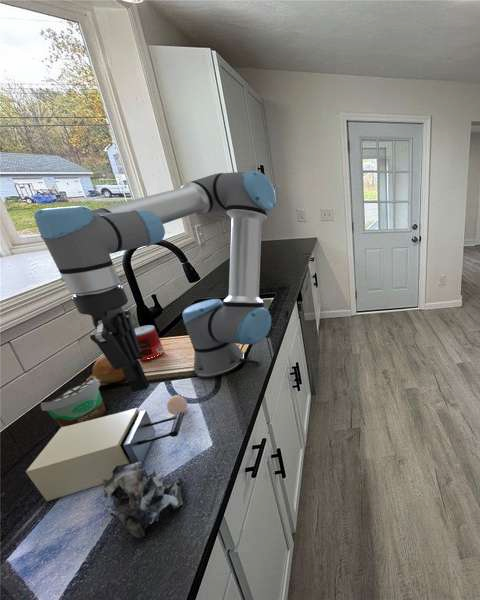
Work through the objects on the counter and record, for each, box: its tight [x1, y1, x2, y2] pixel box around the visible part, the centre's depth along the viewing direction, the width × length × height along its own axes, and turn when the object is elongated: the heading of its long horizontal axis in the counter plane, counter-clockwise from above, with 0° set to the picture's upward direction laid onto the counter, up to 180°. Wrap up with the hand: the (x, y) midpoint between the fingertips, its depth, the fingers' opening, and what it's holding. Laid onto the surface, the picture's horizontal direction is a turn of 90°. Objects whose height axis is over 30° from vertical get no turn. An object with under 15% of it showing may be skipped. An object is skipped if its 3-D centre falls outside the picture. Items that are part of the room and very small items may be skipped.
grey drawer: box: [120, 410, 185, 467], centre depth 73 cm, size 21×11×7 cm, turn 113°
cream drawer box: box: [25, 407, 140, 502], centre depth 70 cm, size 15×13×9 cm
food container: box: [40, 375, 106, 428], centre depth 85 cm, size 12×6×10 cm, turn 168°
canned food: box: [134, 324, 165, 362], centre depth 115 cm, size 8×8×11 cm
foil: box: [97, 460, 184, 539], centre depth 61 cm, size 12×11×15 cm
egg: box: [166, 394, 188, 416], centre depth 86 cm, size 4×4×6 cm
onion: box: [91, 353, 126, 384], centre depth 102 cm, size 10×10×10 cm
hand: (141, 388), depth 70 cm, fingers closed
